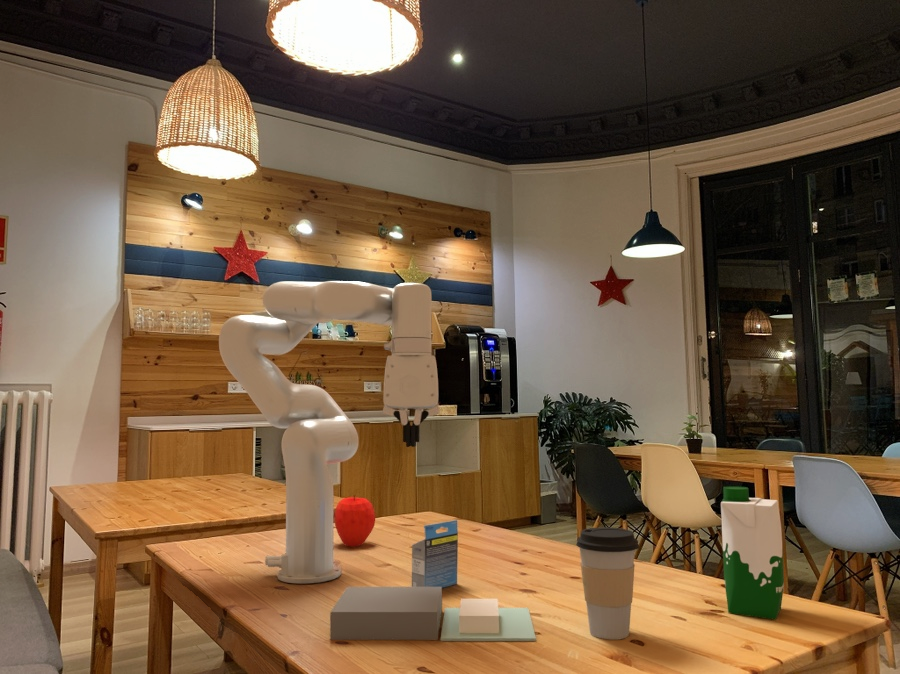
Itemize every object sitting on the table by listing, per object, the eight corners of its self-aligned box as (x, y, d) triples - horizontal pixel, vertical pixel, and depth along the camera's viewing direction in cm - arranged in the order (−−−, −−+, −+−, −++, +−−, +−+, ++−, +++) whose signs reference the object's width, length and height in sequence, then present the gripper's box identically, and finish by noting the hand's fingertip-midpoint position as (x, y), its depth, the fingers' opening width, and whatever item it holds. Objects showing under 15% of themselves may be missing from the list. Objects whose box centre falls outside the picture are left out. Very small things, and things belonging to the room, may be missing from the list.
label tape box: (444, 580, 136) (443, 517, 137) (459, 584, 134) (458, 519, 135) (410, 590, 130) (410, 523, 131) (425, 594, 127) (425, 525, 128)
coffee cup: (571, 624, 109) (569, 527, 111) (629, 622, 110) (626, 525, 111) (588, 645, 100) (585, 539, 101) (652, 642, 101) (648, 537, 102)
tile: (498, 615, 105) (499, 633, 104) (497, 598, 114) (498, 614, 113) (458, 615, 105) (459, 632, 105) (461, 598, 114) (461, 614, 114)
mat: (440, 640, 102) (440, 638, 102) (445, 610, 117) (445, 607, 117) (535, 641, 102) (535, 638, 102) (528, 610, 117) (528, 607, 117)
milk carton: (731, 600, 121) (726, 484, 123) (788, 608, 116) (782, 487, 118) (721, 613, 114) (715, 489, 115) (782, 622, 109) (775, 493, 111)
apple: (383, 543, 172) (383, 493, 173) (357, 551, 164) (357, 498, 165) (352, 539, 177) (352, 491, 178) (325, 547, 169) (326, 496, 170)
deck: (330, 639, 103) (330, 612, 104) (347, 611, 117) (347, 586, 118) (437, 639, 103) (437, 611, 103) (441, 611, 117) (441, 586, 117)
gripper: (369, 347, 128) (368, 447, 127) (450, 347, 128) (450, 448, 126) (375, 350, 136) (374, 444, 134) (451, 349, 135) (451, 445, 134)
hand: (411, 446), depth 130 cm, fingers closed
